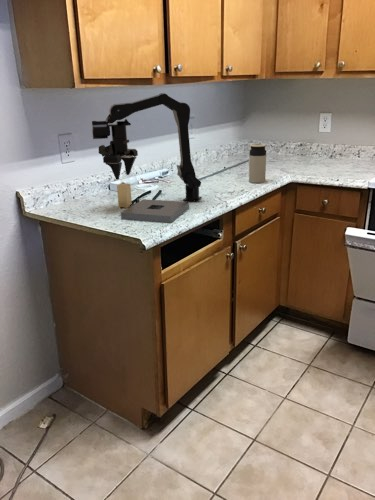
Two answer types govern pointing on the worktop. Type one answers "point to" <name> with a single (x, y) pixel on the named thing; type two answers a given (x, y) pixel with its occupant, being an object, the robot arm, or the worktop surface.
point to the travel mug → (257, 163)
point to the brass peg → (124, 195)
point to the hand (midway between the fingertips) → (122, 177)
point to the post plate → (155, 210)
